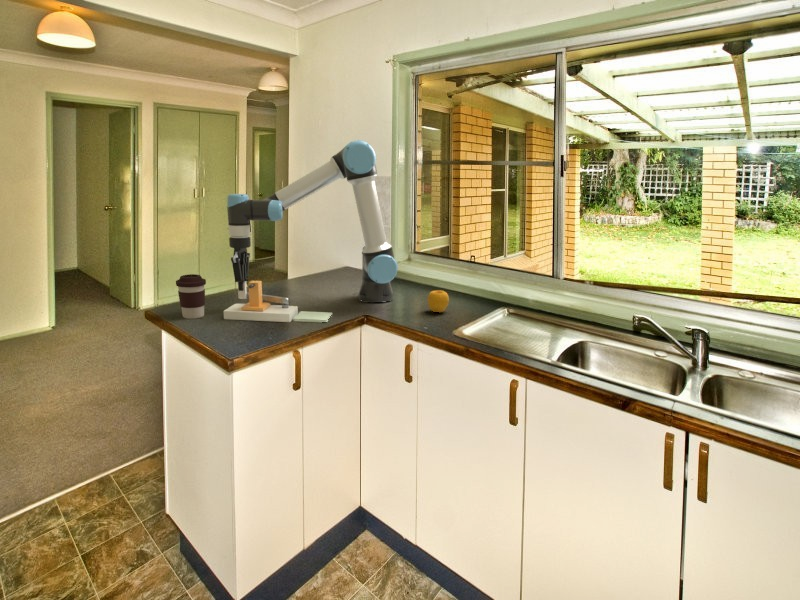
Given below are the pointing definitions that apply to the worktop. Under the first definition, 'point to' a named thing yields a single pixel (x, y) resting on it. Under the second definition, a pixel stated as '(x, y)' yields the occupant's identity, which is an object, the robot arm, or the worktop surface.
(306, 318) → the pad
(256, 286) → the plug
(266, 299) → the grey metal rod
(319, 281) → the worktop surface
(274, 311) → the socket block
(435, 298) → the apple
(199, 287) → the coffee cup
